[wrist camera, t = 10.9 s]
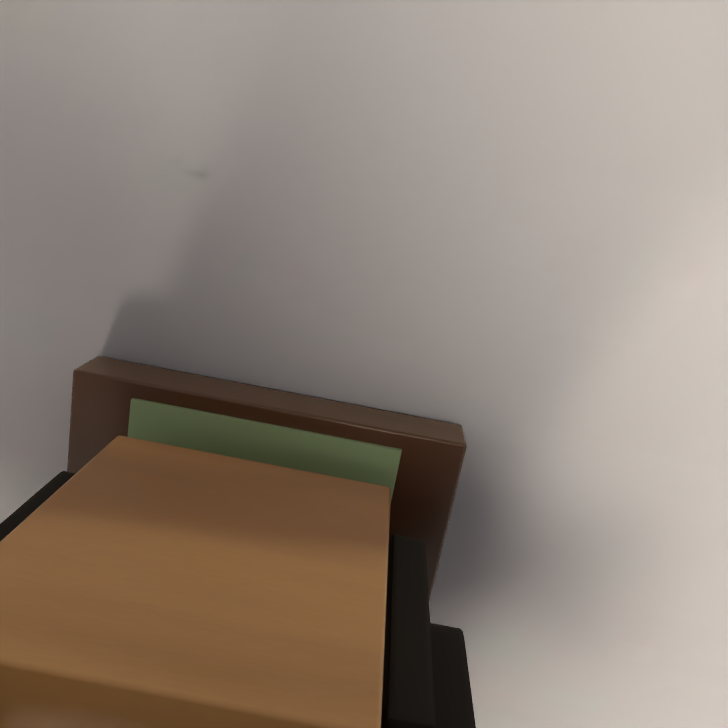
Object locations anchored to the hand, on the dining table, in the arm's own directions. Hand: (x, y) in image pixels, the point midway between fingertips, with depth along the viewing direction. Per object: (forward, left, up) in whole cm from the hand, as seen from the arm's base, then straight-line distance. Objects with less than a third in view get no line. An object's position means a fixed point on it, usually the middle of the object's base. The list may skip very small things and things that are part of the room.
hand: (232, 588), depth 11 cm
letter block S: (0, 0, 0) cm, 0 cm away
